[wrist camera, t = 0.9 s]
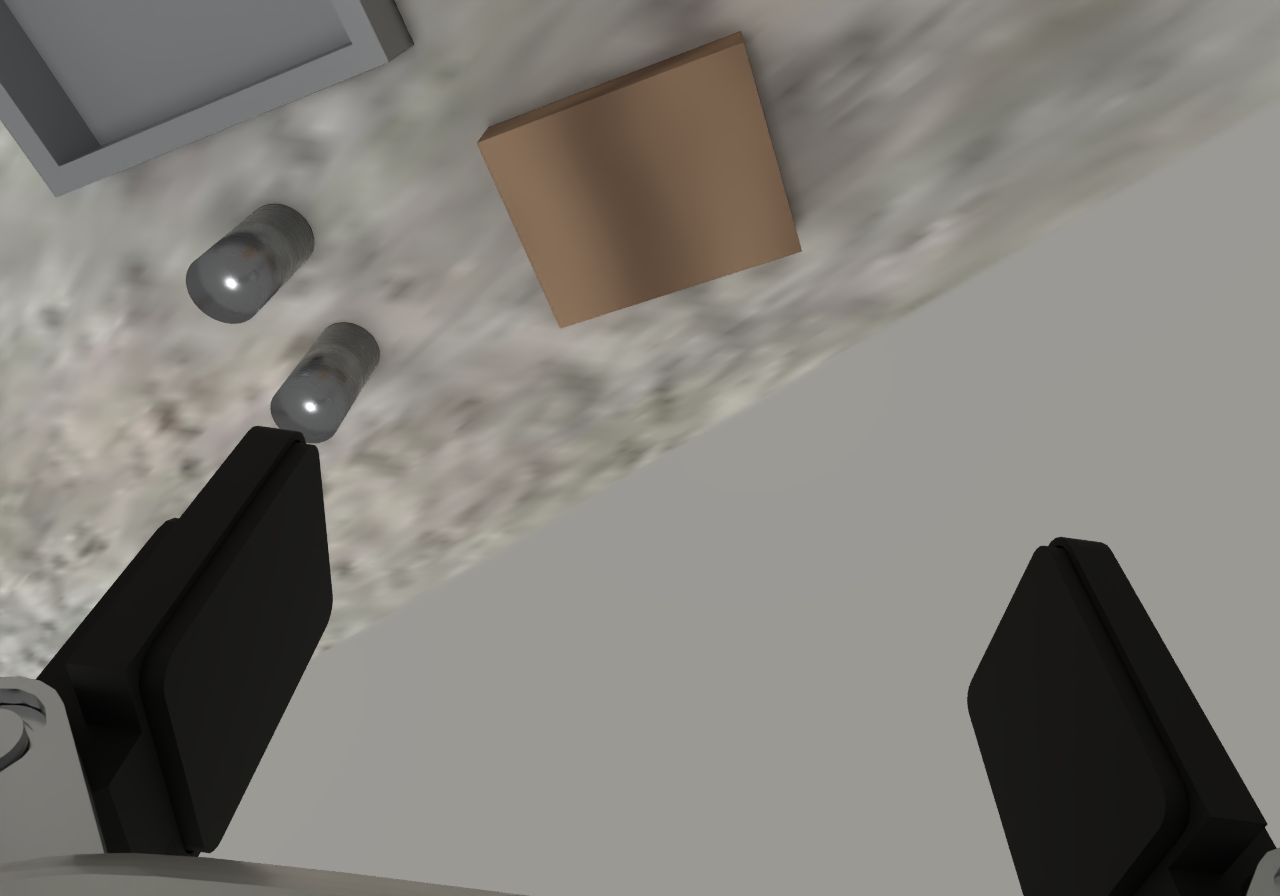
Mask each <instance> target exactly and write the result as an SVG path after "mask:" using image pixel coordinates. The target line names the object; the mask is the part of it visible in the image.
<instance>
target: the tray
mask: <svg viewBox="0 0 1280 896" xmlns="http://www.w3.org/2000/svg"><path fill="white" fill-rule="evenodd" d="M413 45H414V43H413V41H412V39H411V37H410V35H409V32H408V30H407V28H406V26H405V24H404V21H403V19H402V17H401V15H400V13H399V10H398V8H397V6H396V4H395V2H394V0H0V120H1V121H2V123H3V124H4V126H5V127H6V128H7V130H8V131H9V133H10V134H11V135H12V137H13V138H14V140H15V141H16V142H17V144H18V145H19V147H20V148H21V149H22V151H23V152H24V154H25V155H26V156H27V158H28V159H29V161H30V162H31V163H32V165H33V166H34V168H35V169H36V170H37V172H38V173H39V175H40V176H41V177H42V179H43V180H44V182H45V183H46V184H47V186H48V187H49V189H50V190H51V191H52V193H53V194H54V196H55V197H59V196H61V195H63V194H66V193H68V192H71V191H73V190H76V189H78V188H81V187H83V186H86V185H88V184H91V183H93V182H95V181H98V180H100V179H103V178H105V177H108V176H110V175H113V174H115V173H118V172H120V171H122V170H125V169H127V168H130V167H132V166H135V165H137V164H140V163H142V162H145V161H147V160H149V159H152V158H154V157H157V156H159V155H162V154H164V153H167V152H169V151H172V150H174V149H176V148H179V147H181V146H184V145H186V144H189V143H191V142H194V141H196V140H199V139H201V138H204V137H206V136H208V135H211V134H213V133H216V132H218V131H221V130H223V129H226V128H228V127H231V126H233V125H235V124H238V123H240V122H243V121H245V120H248V119H250V118H253V117H255V116H258V115H260V114H262V113H265V112H267V111H270V110H272V109H275V108H277V107H280V106H282V105H285V104H287V103H290V102H292V101H294V100H297V99H299V98H302V97H304V96H307V95H309V94H312V93H314V92H317V91H319V90H321V89H324V88H326V87H329V86H331V85H334V84H336V83H339V82H341V81H344V80H346V79H348V78H351V77H353V76H356V75H358V74H361V73H363V72H366V71H368V70H371V69H373V68H375V67H378V66H380V65H383V64H385V63H388V62H390V61H391V60H393V59H394V58H396V57H397V56H398V55H400V54H401V53H403V52H404V51H406V50H407V49H409V48H410V47H412V46H413Z"/></svg>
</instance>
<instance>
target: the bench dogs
mask: <svg viewBox="0 0 1280 896" xmlns="http://www.w3.org/2000/svg"><path fill="white" fill-rule="evenodd" d="M313 248H314V237H313V233H312V230H311V228H310V226H309V224H308V223H307V221H306V220H305V219H304V218H303V217H302V216H301V215H300V214H299V213H298V212H296V211H295V210H293V209H291V208H289V207H286V206H283V205H278V204H270V205H265V206H263V207H260V208H259V209H257V210H256V211H255V212H254V213H253V214H251V215H250V216H249V217H248V218H246V219H245V220H244V221H243V222H242V223H240V224H239V225H238V226H237V227H235V228H234V229H233V230H232V231H230V232H229V233H228V234H227V235H226V236H224V237H223V238H222V239H221V240H219V241H218V242H217V243H216V244H215V245H213V246H212V247H211V248H210V249H208V250H207V251H206V252H205V253H204V254H202V255H201V256H200V257H199V258H197V259H196V260H195V261H194V262H193V263H192V264H191V265H190V267H189V269H188V271H187V274H186V285H187V290H188V293H189V295H190V297H191V299H192V300H193V302H194V303H195V304H196V306H197V307H198V308H199V309H200V310H201V311H203V312H204V313H205V314H206V315H208V316H210V317H211V318H213V319H215V320H218V321H221V322H224V323H231V324H236V323H242V322H245V321H247V320H249V319H251V318H252V317H253V316H254V315H255V314H256V313H257V312H258V311H259V310H260V309H261V308H262V307H263V306H264V305H265V304H266V303H267V302H268V301H269V300H270V298H271V297H272V296H273V295H274V294H275V293H276V292H277V291H278V290H279V289H280V288H281V287H282V286H283V285H284V284H285V283H286V282H287V281H288V279H289V278H290V277H291V276H292V275H293V274H294V273H295V272H296V271H297V270H298V269H299V268H300V267H301V266H302V265H303V264H304V263H305V262H306V260H307V259H308V258H309V257H310V256H311V254H312V251H313ZM378 361H379V348H378V345H377V343H376V341H375V340H374V338H373V337H372V336H371V335H370V334H369V333H368V332H367V331H366V330H364V329H363V328H361V327H359V326H357V325H354V324H350V323H337V324H333V325H331V326H329V327H328V328H326V329H325V330H324V331H323V333H322V334H321V335H320V337H319V338H318V339H317V341H316V342H315V343H314V344H313V346H312V347H311V348H310V350H309V351H308V352H307V354H306V355H305V356H304V357H303V359H302V360H301V361H300V363H299V364H298V365H297V367H296V368H295V369H294V370H293V372H292V373H291V374H290V376H289V377H288V378H287V380H286V381H285V382H284V383H283V385H282V386H281V387H280V389H279V390H278V391H277V393H276V394H275V395H274V397H273V399H272V401H271V414H272V417H273V420H274V421H275V423H276V425H277V426H278V427H279V428H280V429H284V430H291V431H299V432H301V433H302V434H303V436H304V438H305V441H306V443H320V442H324V441H326V440H328V439H330V438H331V437H332V436H333V435H334V434H335V432H336V431H337V429H338V428H339V426H340V424H341V423H342V421H343V420H344V418H345V416H346V415H347V413H348V411H349V410H350V408H351V406H352V405H353V403H354V402H355V400H356V398H357V397H358V395H359V393H360V392H361V390H362V389H363V387H364V385H365V384H366V382H367V380H368V379H369V377H370V375H371V374H372V372H373V371H374V369H375V367H376V366H377V364H378Z"/></svg>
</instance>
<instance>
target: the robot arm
mask: <svg viewBox="0 0 1280 896" xmlns="http://www.w3.org/2000/svg"><path fill="white" fill-rule="evenodd" d="M332 603H333V594H332V584H331V574H330V563H329V553H328V542H327V532H326V522H325V511H324V501H323V490H322V480H321V470H320V459H319V452H318V449H317V447H316V446H315V445H310V444H306V441H305V438H304V436H303V434H302V433H301V432H299V431H291V430H284V429H277V428H270V427H262V426H255V427H252V428H251V429H250V430H249V431H248V432H247V433H246V435H245V436H244V437H243V439H242V440H241V441H240V442H239V444H238V445H237V446H236V447H235V449H234V450H233V451H232V452H231V454H230V455H229V456H228V458H227V459H226V460H225V461H224V463H223V464H222V465H221V466H220V468H219V469H218V470H217V471H216V473H215V474H214V475H213V476H212V478H211V479H210V480H209V482H208V483H207V484H206V485H205V487H204V488H203V489H202V490H201V492H200V493H199V494H198V495H197V497H196V498H195V499H194V501H193V502H192V503H191V504H190V506H189V507H188V508H187V509H186V511H185V512H184V513H183V514H182V516H181V517H180V518H173V519H170V520H168V521H166V522H165V523H164V524H162V525H161V526H160V527H159V528H158V529H157V530H156V532H155V533H154V534H153V535H152V537H151V538H150V539H149V540H148V541H147V543H146V544H145V545H144V546H143V548H142V549H141V550H140V551H139V553H138V554H137V555H136V556H135V558H134V559H133V560H132V561H131V562H130V564H129V565H128V566H127V567H126V569H125V570H124V571H123V572H122V574H121V575H120V576H119V577H118V579H117V580H116V581H115V582H114V583H113V585H112V586H111V587H110V588H109V590H108V591H107V592H106V593H105V595H104V596H103V597H102V598H101V600H100V601H99V602H98V603H97V604H96V606H95V607H94V608H93V609H92V611H91V612H90V613H89V614H88V616H87V617H86V618H85V619H84V621H83V622H82V623H81V624H80V625H79V627H78V628H77V629H76V630H75V632H74V633H73V634H72V635H71V637H70V638H69V639H68V640H67V641H66V643H65V644H64V645H63V646H62V648H61V649H60V650H59V651H58V653H57V654H56V655H55V656H54V658H53V659H52V660H51V661H50V662H49V664H48V665H47V666H46V667H45V669H44V670H43V671H42V672H41V674H40V675H39V676H38V677H37V679H36V680H34V679H30V678H25V677H20V676H19V677H0V896H527V895H519V894H511V893H503V892H495V891H486V890H479V889H471V888H463V887H455V886H446V885H439V884H431V883H423V882H416V881H407V880H399V879H392V878H383V877H376V876H368V875H359V874H352V873H344V872H335V871H325V870H316V869H307V868H298V867H289V866H279V865H270V864H261V863H251V862H243V861H233V860H224V859H214V858H206V857H198V856H199V854H200V852H205V853H211V852H213V851H214V850H215V849H216V848H217V846H218V845H219V843H220V841H221V840H222V838H223V836H224V834H225V831H226V829H227V827H228V825H229V824H230V821H231V819H232V817H233V815H234V813H235V811H236V809H237V807H238V805H239V803H240V801H241V799H242V797H243V795H244V793H245V791H246V789H247V787H248V785H249V783H250V780H251V779H252V777H253V775H254V773H255V771H256V768H257V766H258V765H259V763H260V760H261V758H262V756H263V754H264V752H265V750H266V748H267V746H268V744H269V742H270V740H271V738H272V736H273V734H274V732H275V730H276V728H277V726H278V724H279V722H280V720H281V718H282V716H283V714H284V712H285V710H286V708H287V706H288V703H289V702H290V699H291V697H292V695H293V693H294V691H295V689H296V687H297V685H298V683H299V681H300V679H301V677H302V675H303V673H304V671H305V669H306V667H307V665H308V663H309V661H310V659H311V657H312V655H313V653H314V651H315V649H316V647H317V645H318V643H319V641H320V639H321V637H322V634H323V632H324V630H325V628H326V626H327V624H328V621H329V618H330V615H331V610H332ZM967 702H968V711H969V715H970V718H971V722H972V725H973V728H974V732H975V735H976V738H977V742H978V745H979V748H980V752H981V755H982V758H983V762H984V765H985V768H986V772H987V775H988V778H989V782H990V785H991V789H992V792H993V795H994V799H995V802H996V805H997V808H998V812H999V815H1000V819H1001V822H1002V825H1003V829H1004V832H1005V835H1006V839H1007V842H1008V845H1009V849H1010V852H1011V855H1012V859H1013V862H1014V865H1015V869H1016V872H1017V875H1018V879H1019V882H1020V885H1021V889H1022V892H1023V895H1024V896H1280V848H1276V846H1275V845H1274V843H1273V841H1272V840H1271V838H1270V836H1269V834H1268V832H1267V831H1266V829H1265V826H1266V825H1267V822H1266V821H1265V819H1264V817H1263V815H1262V814H1261V812H1260V810H1259V808H1258V807H1257V805H1256V803H1255V801H1254V800H1253V798H1252V796H1251V794H1250V793H1249V791H1248V789H1247V787H1246V786H1245V784H1244V782H1243V780H1242V779H1241V777H1240V775H1239V773H1238V772H1237V770H1236V768H1235V767H1234V765H1233V763H1232V761H1231V759H1230V758H1229V756H1228V754H1227V752H1226V750H1225V749H1224V747H1223V745H1222V743H1221V742H1220V740H1219V738H1218V736H1217V735H1216V733H1215V731H1214V730H1213V728H1212V726H1211V724H1210V723H1209V721H1208V719H1207V717H1206V715H1205V714H1204V712H1203V710H1202V709H1201V707H1200V705H1199V703H1198V702H1197V700H1196V698H1195V696H1194V694H1193V693H1192V691H1191V689H1190V687H1189V686H1188V684H1187V682H1186V681H1185V679H1184V677H1183V675H1182V673H1181V672H1180V670H1179V668H1178V666H1177V665H1176V663H1175V661H1174V659H1173V658H1172V656H1171V654H1170V652H1169V651H1168V649H1167V647H1166V645H1165V644H1164V642H1163V641H1162V638H1161V637H1160V635H1159V633H1158V631H1157V630H1156V628H1155V626H1154V625H1153V623H1152V621H1151V619H1150V617H1149V616H1148V614H1147V612H1146V610H1145V609H1144V607H1143V605H1142V603H1141V602H1140V600H1139V598H1138V596H1137V595H1136V593H1135V591H1134V589H1133V588H1132V586H1131V584H1130V582H1129V581H1128V579H1127V577H1126V575H1125V574H1124V572H1123V570H1122V568H1121V567H1120V565H1119V563H1118V561H1117V560H1116V558H1115V556H1114V554H1113V553H1112V551H1111V549H1110V548H1109V547H1108V546H1107V545H1105V544H1104V543H1101V542H1094V541H1087V540H1079V539H1071V538H1065V537H1058V538H1055V539H1054V540H1053V541H1051V543H1050V544H1049V546H1040V547H1039V548H1037V549H1036V551H1035V552H1034V554H1033V556H1032V558H1031V560H1030V562H1029V564H1028V566H1027V568H1026V570H1025V572H1024V574H1023V576H1022V578H1021V580H1020V582H1019V584H1018V587H1017V588H1016V591H1015V593H1014V595H1013V597H1012V599H1011V601H1010V603H1009V605H1008V607H1007V609H1006V611H1005V613H1004V615H1003V617H1002V619H1001V621H1000V623H999V625H998V627H997V629H996V632H995V634H994V636H993V638H992V640H991V642H990V644H989V646H988V648H987V650H986V652H985V654H984V656H983V658H982V660H981V662H980V664H979V666H978V668H977V670H976V672H975V674H974V677H973V679H972V681H971V683H970V686H969V690H968V697H967Z"/></svg>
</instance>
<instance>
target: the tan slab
mask: <svg viewBox="0 0 1280 896" xmlns="http://www.w3.org/2000/svg"><path fill="white" fill-rule="evenodd" d="M477 145H478V147H479V149H480V151H481V154H482V156H483V158H484V160H485V162H486V165H487V167H488V169H489V171H490V174H491V176H492V178H493V180H494V182H495V185H496V187H497V189H498V191H499V194H500V196H501V198H502V200H503V202H504V205H505V207H506V209H507V211H508V214H509V216H510V218H511V220H512V222H513V225H514V227H515V229H516V231H517V234H518V236H519V238H520V240H521V242H522V245H523V247H524V249H525V251H526V254H527V256H528V258H529V260H530V262H531V265H532V267H533V269H534V271H535V274H536V276H537V278H538V280H539V282H540V285H541V287H542V289H543V291H544V294H545V296H546V298H547V300H548V302H549V305H550V307H551V309H552V311H553V314H554V316H555V318H556V320H557V322H558V325H559V327H560V328H563V327H566V326H569V325H572V324H575V323H579V322H582V321H585V320H588V319H591V318H594V317H597V316H601V315H604V314H607V313H610V312H613V311H616V310H619V309H622V308H626V307H629V306H632V305H635V304H638V303H641V302H644V301H648V300H651V299H654V298H657V297H660V296H663V295H666V294H670V293H673V292H676V291H679V290H682V289H685V288H688V287H691V286H695V285H698V284H701V283H704V282H707V281H710V280H713V279H717V278H720V277H723V276H726V275H729V274H732V273H735V272H738V271H742V270H745V269H748V268H751V267H754V266H757V265H760V264H764V263H767V262H770V261H773V260H776V259H779V258H782V257H785V256H789V255H792V254H795V253H798V252H801V251H802V250H801V246H800V243H799V239H798V235H797V232H796V228H795V225H794V221H793V218H792V214H791V210H790V207H789V203H788V200H787V196H786V192H785V189H784V185H783V182H782V178H781V174H780V171H779V167H778V164H777V160H776V156H775V153H774V149H773V146H772V142H771V138H770V135H769V131H768V128H767V124H766V120H765V117H764V113H763V110H762V106H761V102H760V99H759V95H758V92H757V88H756V85H755V81H754V77H753V74H752V70H751V67H750V63H749V59H748V56H747V52H746V49H745V45H744V41H743V38H742V35H741V32H740V31H739V32H737V33H734V34H732V35H729V36H726V37H724V38H721V39H719V40H716V41H713V42H711V43H708V44H705V45H703V46H700V47H698V48H695V49H692V50H690V51H687V52H684V53H682V54H679V55H677V56H674V57H671V58H669V59H666V60H663V61H661V62H658V63H656V64H653V65H650V66H648V67H645V68H642V69H640V70H637V71H635V72H632V73H629V74H627V75H624V76H622V77H619V78H616V79H614V80H611V81H608V82H606V83H603V84H601V85H598V86H595V87H593V88H590V89H587V90H585V91H582V92H580V93H577V94H574V95H572V96H569V97H566V98H564V99H561V100H559V101H556V102H553V103H551V104H548V105H546V106H543V107H540V108H538V109H535V110H532V111H530V112H527V113H525V114H522V115H519V116H517V117H514V118H511V119H509V120H506V121H504V122H501V123H498V124H496V125H493V126H490V127H488V129H487V130H486V131H485V133H484V134H483V135H482V137H481V138H480V139H479V141H478V142H477Z"/></svg>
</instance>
